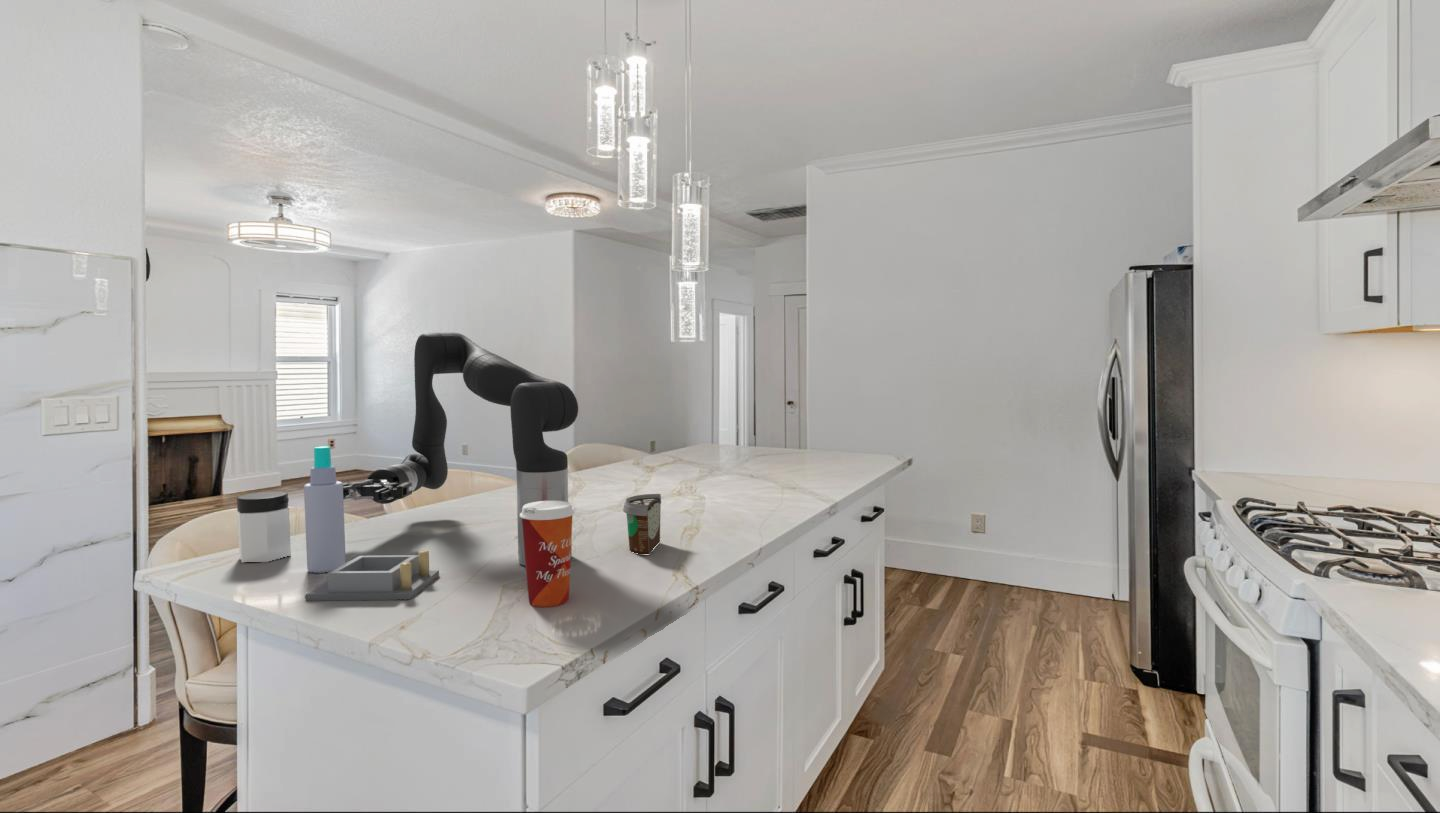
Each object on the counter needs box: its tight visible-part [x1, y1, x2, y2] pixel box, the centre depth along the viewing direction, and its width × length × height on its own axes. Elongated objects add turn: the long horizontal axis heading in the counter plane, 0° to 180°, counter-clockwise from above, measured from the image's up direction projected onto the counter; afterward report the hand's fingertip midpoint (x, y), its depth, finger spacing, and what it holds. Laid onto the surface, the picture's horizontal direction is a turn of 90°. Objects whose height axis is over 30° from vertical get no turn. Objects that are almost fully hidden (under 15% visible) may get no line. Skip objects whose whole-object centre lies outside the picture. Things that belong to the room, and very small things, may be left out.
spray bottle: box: [303, 446, 347, 574], centre depth 124 cm, size 6×6×22 cm
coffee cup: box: [519, 501, 576, 608], centre depth 107 cm, size 8×8×15 cm
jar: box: [236, 491, 292, 564], centre depth 132 cm, size 9×8×12 cm
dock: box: [304, 549, 440, 602], centre depth 114 cm, size 16×12×5 cm
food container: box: [622, 493, 662, 555], centre depth 137 cm, size 12×6×10 cm, turn 172°
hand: (354, 497), depth 134 cm, fingers open, 8 cm apart
